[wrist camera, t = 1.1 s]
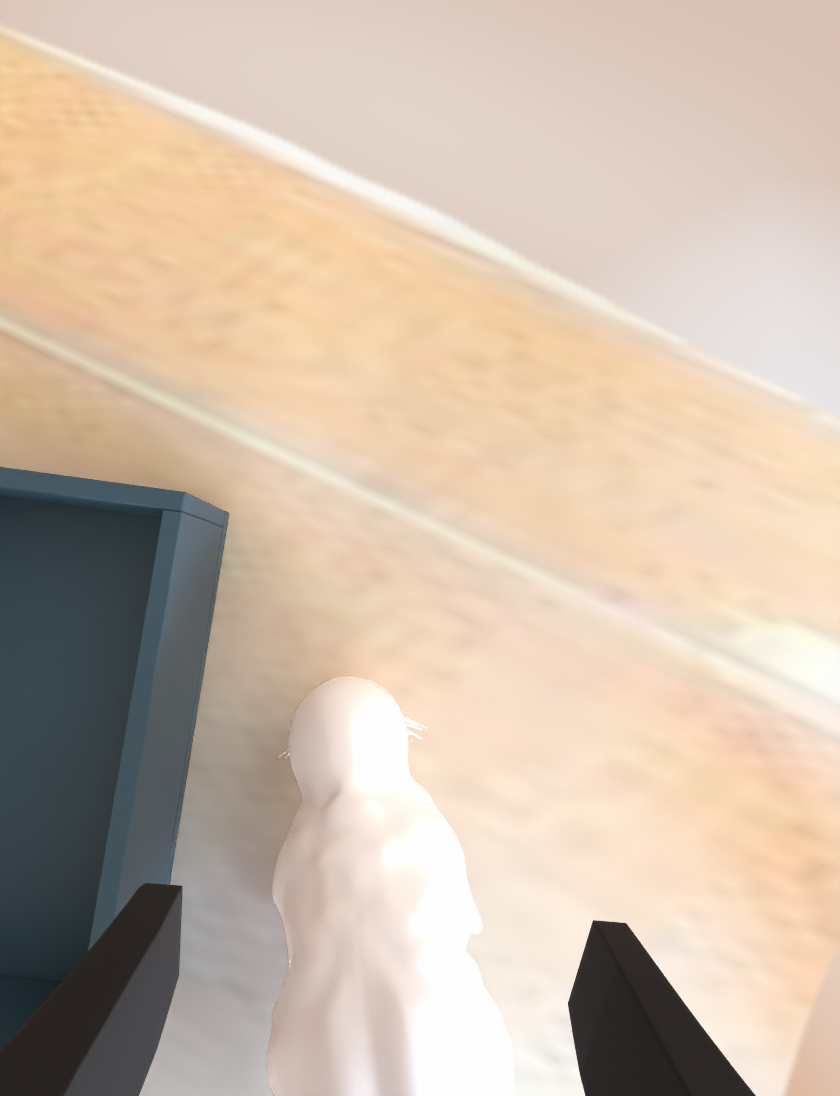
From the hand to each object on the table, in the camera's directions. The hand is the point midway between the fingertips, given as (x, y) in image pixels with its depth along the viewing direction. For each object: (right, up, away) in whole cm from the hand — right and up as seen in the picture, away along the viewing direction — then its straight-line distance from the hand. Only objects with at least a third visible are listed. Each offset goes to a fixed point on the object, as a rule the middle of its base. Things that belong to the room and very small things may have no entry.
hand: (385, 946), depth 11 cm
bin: (-13, +1, +11) cm, 17 cm away
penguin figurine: (-1, -3, +11) cm, 12 cm away
